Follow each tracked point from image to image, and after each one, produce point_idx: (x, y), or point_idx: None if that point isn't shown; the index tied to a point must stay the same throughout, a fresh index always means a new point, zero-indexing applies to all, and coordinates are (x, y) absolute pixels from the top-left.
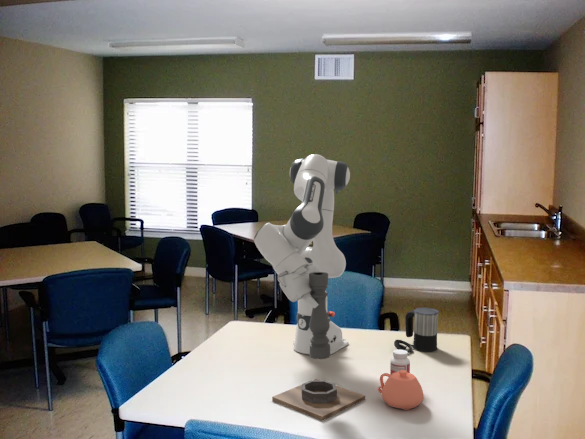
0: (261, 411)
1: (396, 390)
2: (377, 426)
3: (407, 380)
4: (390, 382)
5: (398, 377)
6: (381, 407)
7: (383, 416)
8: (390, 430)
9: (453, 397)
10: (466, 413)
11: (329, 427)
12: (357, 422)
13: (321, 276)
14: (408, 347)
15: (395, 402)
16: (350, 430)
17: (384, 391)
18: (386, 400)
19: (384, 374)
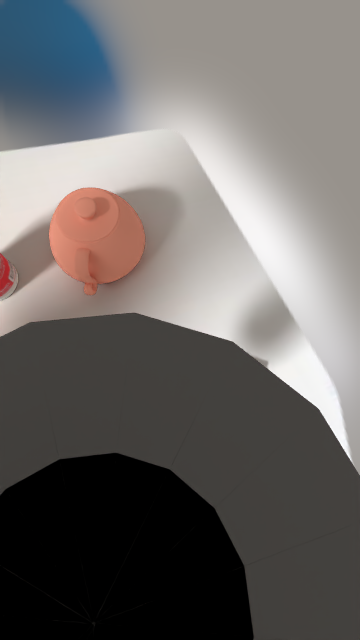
0: None
1: (135, 228)
2: (227, 262)
3: (112, 198)
4: (119, 240)
5: (101, 220)
6: (138, 281)
7: (179, 265)
8: (231, 237)
9: (29, 171)
10: (98, 140)
11: (279, 343)
12: (230, 301)
13: (295, 402)
14: None
15: (144, 241)
16: (269, 301)
17: (124, 264)
18: (137, 263)
19: (86, 260)
